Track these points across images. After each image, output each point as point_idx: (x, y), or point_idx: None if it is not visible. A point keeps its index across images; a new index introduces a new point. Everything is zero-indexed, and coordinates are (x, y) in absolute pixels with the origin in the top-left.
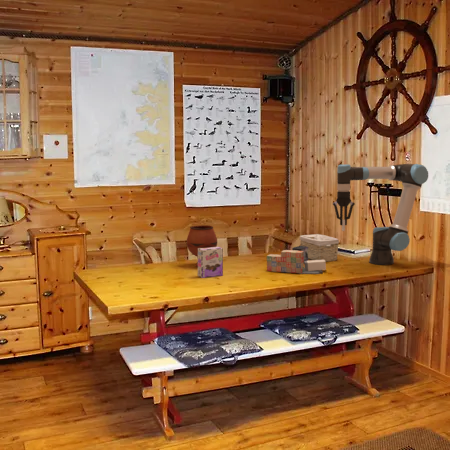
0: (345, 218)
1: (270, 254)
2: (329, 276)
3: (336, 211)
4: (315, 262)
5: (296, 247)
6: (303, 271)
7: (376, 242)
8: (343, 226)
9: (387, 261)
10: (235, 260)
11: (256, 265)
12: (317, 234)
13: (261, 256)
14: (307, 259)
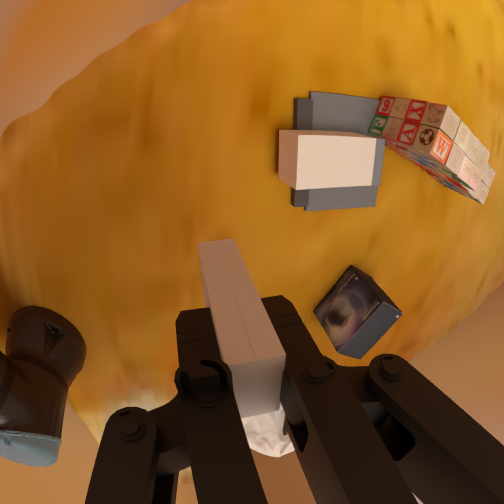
0: (223, 404)
1: (483, 199)
2: (270, 44)
3: (502, 458)
4: (344, 136)
5: (388, 322)
6: (369, 128)
7: (38, 389)
8: (232, 275)
9: (17, 317)
10: (468, 288)
11: (456, 238)
12: (279, 454)
13: (407, 346)
14: (320, 313)
